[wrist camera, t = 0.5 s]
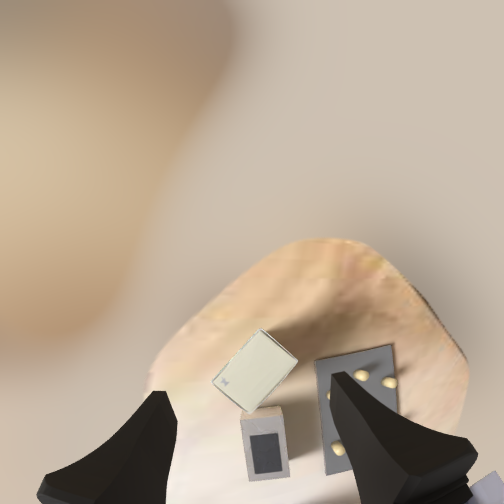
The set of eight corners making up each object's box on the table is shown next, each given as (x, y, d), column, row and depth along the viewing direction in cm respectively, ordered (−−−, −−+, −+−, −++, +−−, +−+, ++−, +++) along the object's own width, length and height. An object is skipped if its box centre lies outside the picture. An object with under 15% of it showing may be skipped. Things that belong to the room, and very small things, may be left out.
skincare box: (251, 393, 32) (247, 419, 21) (223, 369, 33) (206, 384, 22) (287, 354, 34) (301, 361, 22) (259, 330, 35) (259, 326, 23)
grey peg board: (395, 453, 29) (405, 460, 26) (325, 473, 29) (330, 483, 26) (388, 344, 34) (399, 344, 30) (314, 360, 33) (319, 362, 30)
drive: (286, 460, 30) (290, 477, 25) (250, 464, 30) (249, 481, 25) (279, 405, 32) (283, 415, 27) (242, 409, 32) (240, 420, 27)
